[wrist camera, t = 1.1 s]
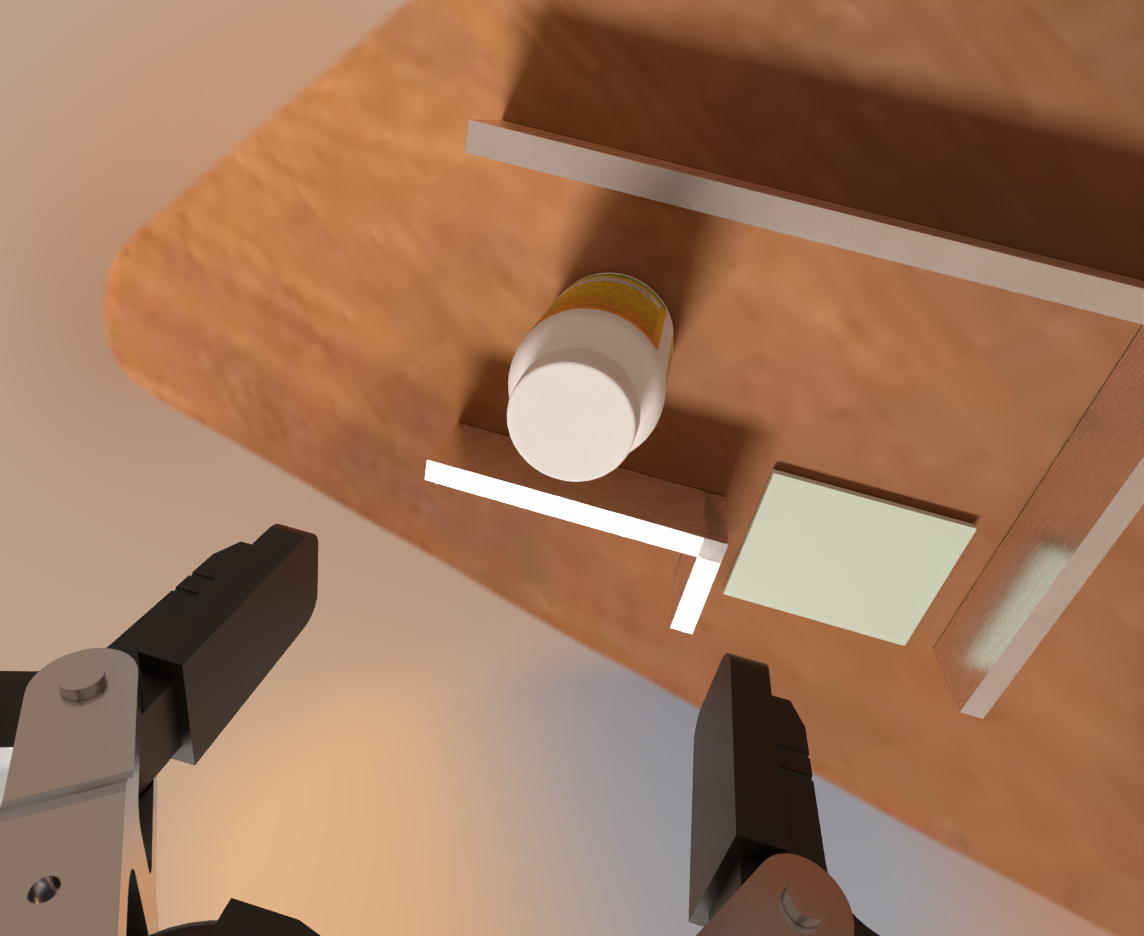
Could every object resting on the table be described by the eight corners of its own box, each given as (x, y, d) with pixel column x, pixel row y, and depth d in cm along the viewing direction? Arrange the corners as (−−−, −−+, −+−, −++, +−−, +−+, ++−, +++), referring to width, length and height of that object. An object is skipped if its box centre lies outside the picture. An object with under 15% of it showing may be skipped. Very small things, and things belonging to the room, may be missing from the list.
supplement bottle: (530, 292, 28) (454, 365, 20) (653, 252, 27) (628, 312, 18) (572, 407, 30) (520, 518, 22) (689, 376, 29) (681, 482, 20)
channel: (501, 119, 26) (468, 119, 22) (1196, 293, 24) (1279, 322, 21) (445, 509, 34) (415, 553, 31) (953, 654, 33) (982, 718, 29)
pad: (772, 468, 30) (773, 472, 30) (973, 523, 29) (976, 528, 29) (723, 588, 33) (723, 593, 33) (902, 640, 33) (904, 645, 32)
